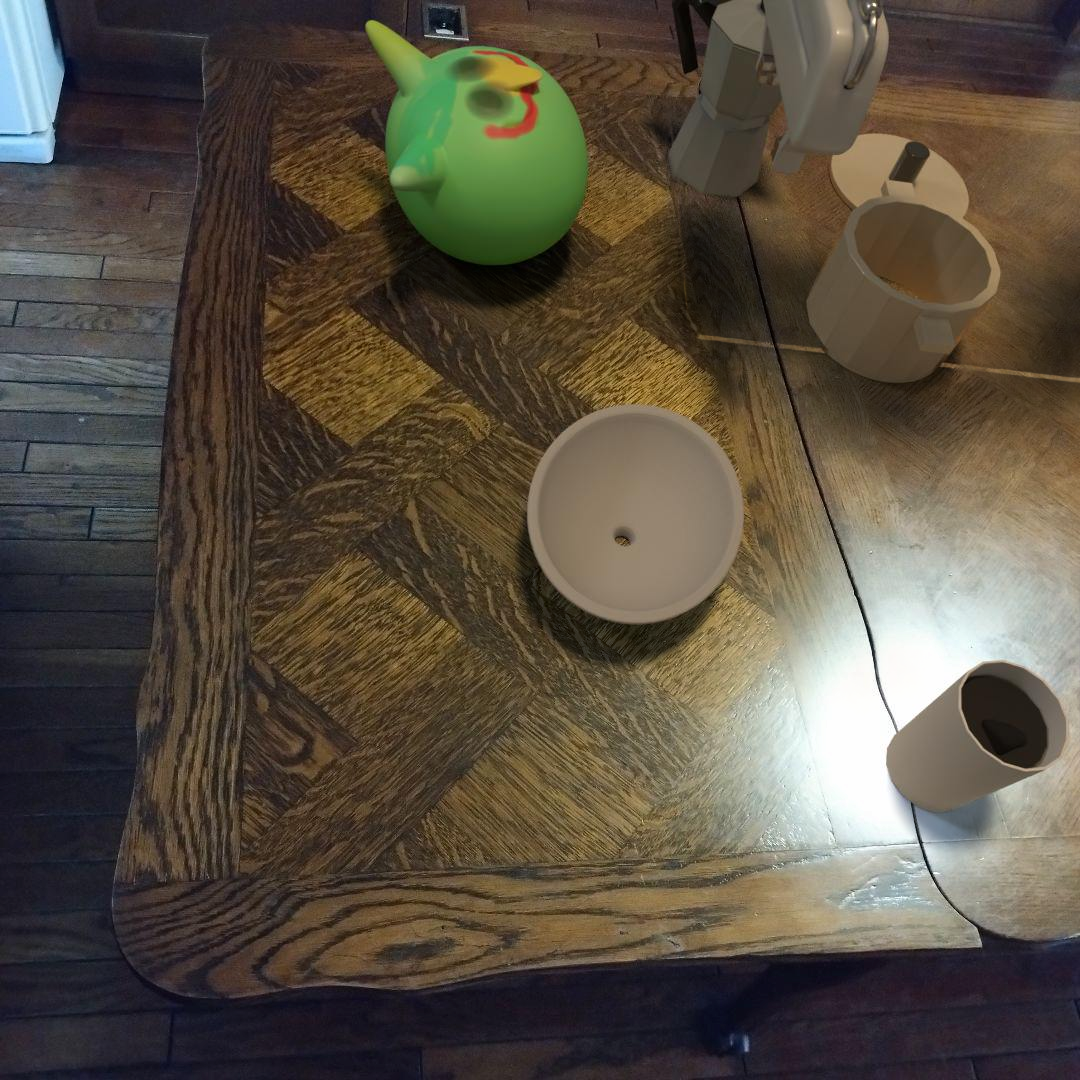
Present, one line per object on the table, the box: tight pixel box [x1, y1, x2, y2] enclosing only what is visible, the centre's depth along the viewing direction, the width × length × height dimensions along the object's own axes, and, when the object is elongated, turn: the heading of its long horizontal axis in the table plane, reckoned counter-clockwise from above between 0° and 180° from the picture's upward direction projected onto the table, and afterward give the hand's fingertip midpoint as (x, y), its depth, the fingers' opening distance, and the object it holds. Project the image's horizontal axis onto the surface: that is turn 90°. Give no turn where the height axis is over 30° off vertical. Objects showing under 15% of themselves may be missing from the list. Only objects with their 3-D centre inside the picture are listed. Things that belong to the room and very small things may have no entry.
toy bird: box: [364, 19, 589, 266], centre depth 77 cm, size 18×17×15 cm
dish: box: [526, 403, 745, 626], centre depth 67 cm, size 18×14×5 cm
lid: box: [828, 133, 970, 219], centre depth 92 cm, size 14×14×5 cm
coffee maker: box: [666, 0, 783, 198], centre depth 84 cm, size 15×9×18 cm, turn 48°
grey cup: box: [885, 659, 1071, 813], centre depth 60 cm, size 7×7×10 cm
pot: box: [805, 180, 1002, 384], centre depth 81 cm, size 13×18×8 cm
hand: (774, 121), depth 69 cm, fingers open, 8 cm apart
